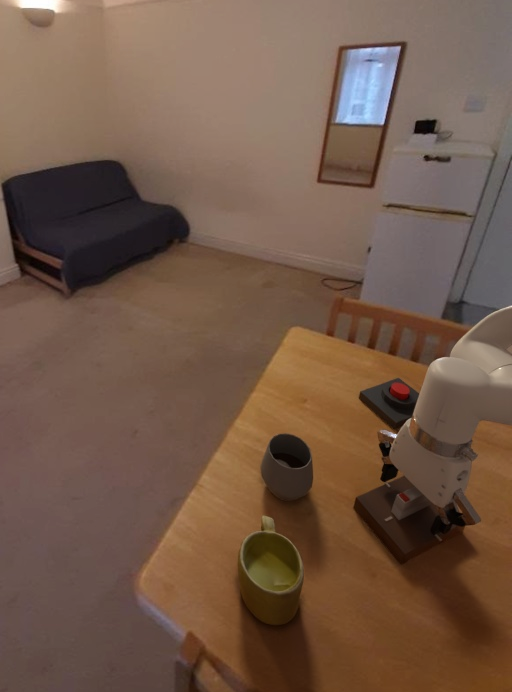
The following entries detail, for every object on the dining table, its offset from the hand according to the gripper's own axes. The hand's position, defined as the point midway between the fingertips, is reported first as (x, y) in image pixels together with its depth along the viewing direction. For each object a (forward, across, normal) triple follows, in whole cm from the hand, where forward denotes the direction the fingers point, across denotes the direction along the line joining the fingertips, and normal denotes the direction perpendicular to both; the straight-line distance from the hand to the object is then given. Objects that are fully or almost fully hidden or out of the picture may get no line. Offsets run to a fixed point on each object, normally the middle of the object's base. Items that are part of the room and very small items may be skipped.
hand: (411, 502), depth 69 cm
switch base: (+5, 0, 0) cm, 5 cm away
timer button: (+1, +20, -20) cm, 28 cm away
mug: (+5, +1, +28) cm, 28 cm away
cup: (+5, +13, +16) cm, 21 cm away
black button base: (+4, +20, -20) cm, 29 cm away
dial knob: (+2, 0, 0) cm, 2 cm away
